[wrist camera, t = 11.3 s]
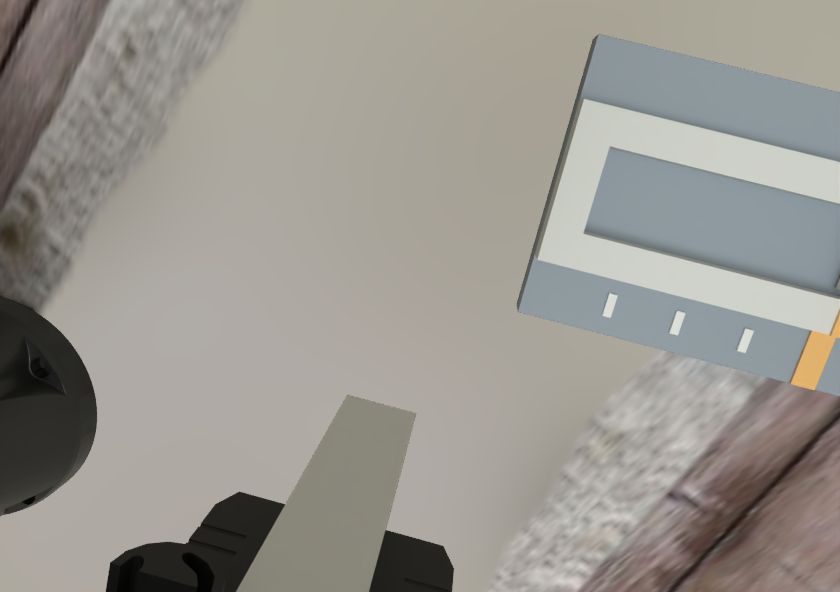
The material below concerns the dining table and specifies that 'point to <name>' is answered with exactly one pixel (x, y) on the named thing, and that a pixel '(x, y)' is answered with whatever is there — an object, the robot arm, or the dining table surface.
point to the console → (696, 215)
